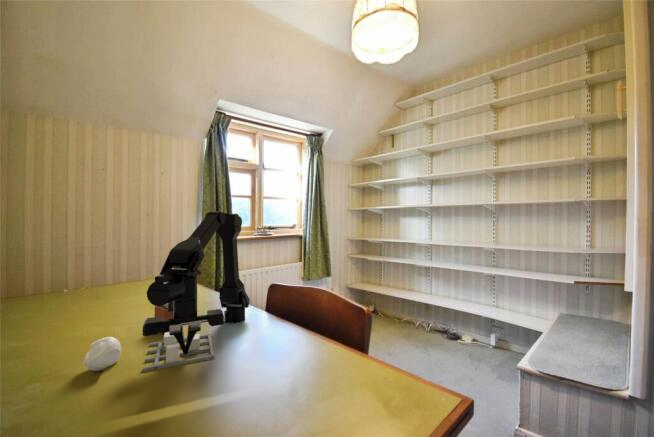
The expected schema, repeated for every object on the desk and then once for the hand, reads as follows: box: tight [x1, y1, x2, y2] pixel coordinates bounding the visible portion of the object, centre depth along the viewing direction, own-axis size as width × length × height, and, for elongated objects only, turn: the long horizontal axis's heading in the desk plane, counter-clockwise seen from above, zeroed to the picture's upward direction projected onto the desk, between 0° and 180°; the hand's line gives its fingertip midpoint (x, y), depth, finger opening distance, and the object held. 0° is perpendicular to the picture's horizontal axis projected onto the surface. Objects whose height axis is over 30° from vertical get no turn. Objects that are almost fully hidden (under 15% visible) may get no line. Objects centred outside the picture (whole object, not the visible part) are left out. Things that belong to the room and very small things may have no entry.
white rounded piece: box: [83, 336, 122, 372], centre depth 76 cm, size 8×8×8 cm
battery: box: [154, 303, 173, 335], centre depth 97 cm, size 4×7×10 cm, turn 55°
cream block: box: [165, 343, 181, 363], centre depth 77 cm, size 3×4×4 cm
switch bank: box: [141, 333, 215, 373], centre depth 82 cm, size 18×16×2 cm
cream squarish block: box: [163, 332, 177, 348], centre depth 86 cm, size 3×4×4 cm
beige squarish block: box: [188, 333, 201, 351], centre depth 84 cm, size 3×4×4 cm
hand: (185, 353), depth 78 cm, fingers closed
